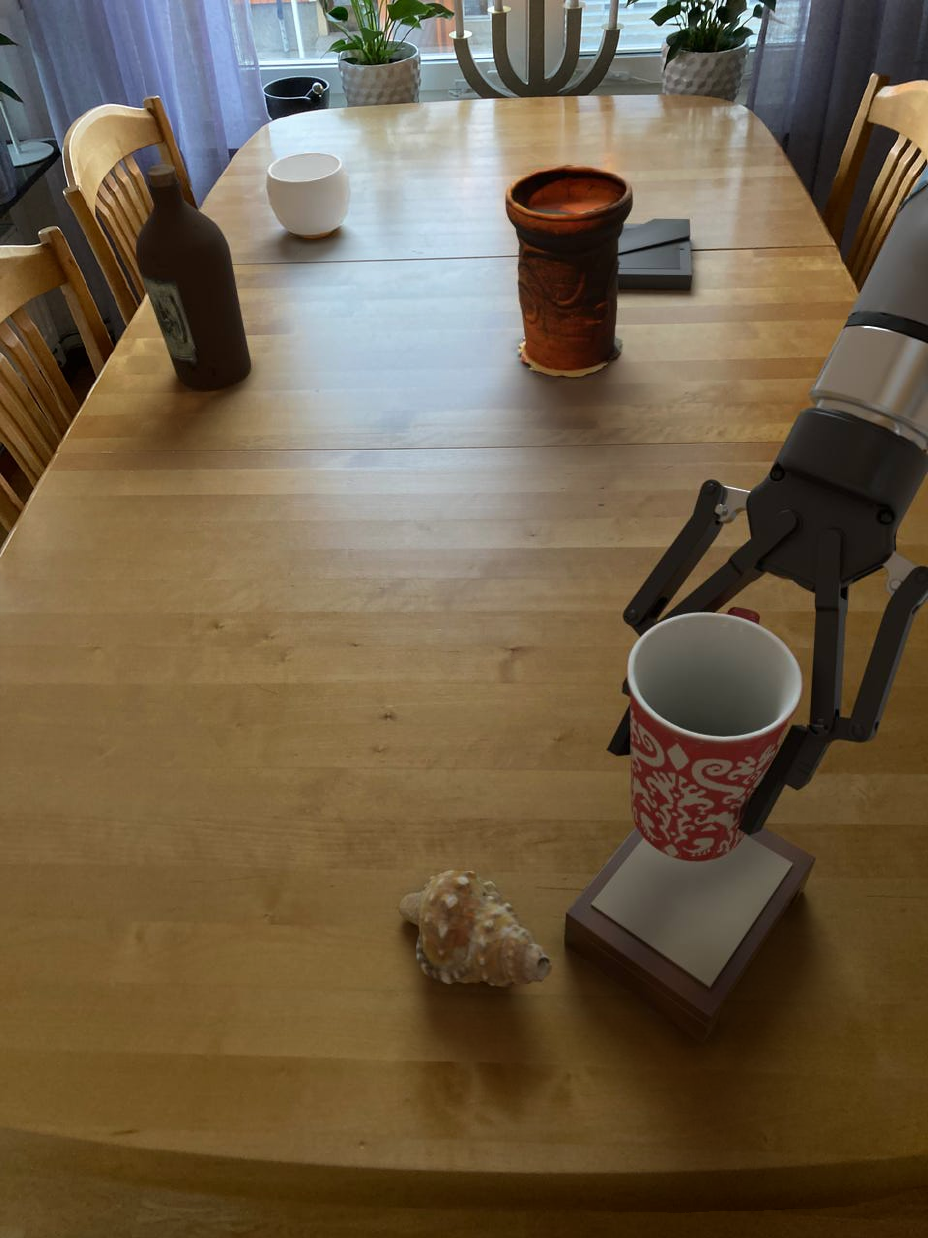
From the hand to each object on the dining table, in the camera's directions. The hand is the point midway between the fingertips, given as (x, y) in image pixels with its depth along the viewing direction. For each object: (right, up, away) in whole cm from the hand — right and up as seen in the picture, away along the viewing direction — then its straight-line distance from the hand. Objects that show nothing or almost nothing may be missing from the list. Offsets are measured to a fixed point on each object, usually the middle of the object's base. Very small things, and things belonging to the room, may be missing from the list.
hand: (682, 789), depth 57 cm
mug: (+2, -1, +5) cm, 6 cm away
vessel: (0, +44, +66) cm, 79 cm away
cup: (-36, +70, +94) cm, 122 cm away
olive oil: (-45, +41, +66) cm, 90 cm away
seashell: (-12, -13, +11) cm, 21 cm away
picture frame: (+9, +61, +81) cm, 102 cm away
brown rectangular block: (+3, -11, +12) cm, 17 cm away
